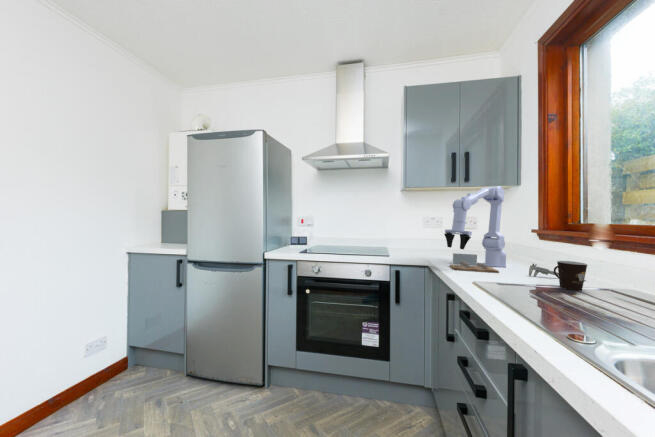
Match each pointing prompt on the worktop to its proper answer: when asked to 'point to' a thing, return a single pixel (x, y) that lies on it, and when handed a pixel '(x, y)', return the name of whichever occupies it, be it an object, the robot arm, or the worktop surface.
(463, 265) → the hinge board
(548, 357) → the worktop surface
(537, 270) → the caliper
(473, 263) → the door panel
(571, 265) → the coffee mug
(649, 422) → the worktop surface
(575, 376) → the worktop surface
